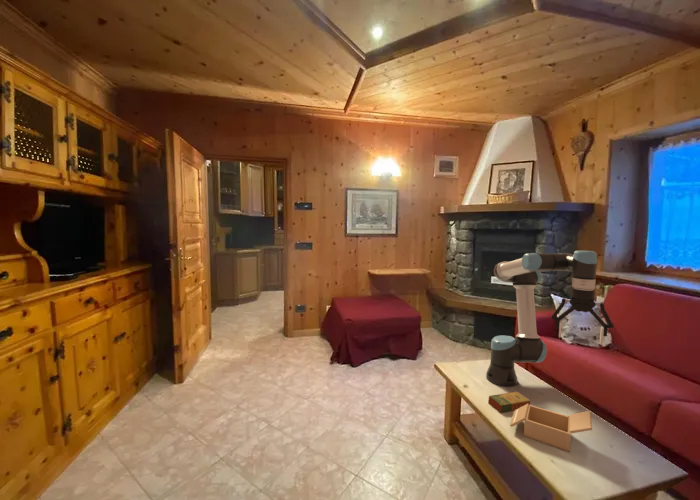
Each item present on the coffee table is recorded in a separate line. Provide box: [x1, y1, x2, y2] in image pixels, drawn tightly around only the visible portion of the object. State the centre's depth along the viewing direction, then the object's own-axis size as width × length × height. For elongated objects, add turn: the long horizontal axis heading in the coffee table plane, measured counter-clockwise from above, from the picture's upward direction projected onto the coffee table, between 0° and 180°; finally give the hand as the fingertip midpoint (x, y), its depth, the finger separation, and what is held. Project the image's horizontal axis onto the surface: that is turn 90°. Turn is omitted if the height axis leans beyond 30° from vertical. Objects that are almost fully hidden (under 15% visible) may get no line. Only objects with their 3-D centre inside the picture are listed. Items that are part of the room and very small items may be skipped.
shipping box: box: [509, 404, 572, 453], centre depth 125 cm, size 13×20×8 cm, turn 55°
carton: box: [488, 391, 531, 414], centre depth 144 cm, size 8×16×4 cm, turn 105°
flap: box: [569, 410, 593, 434], centre depth 117 cm, size 13×1×7 cm
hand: (579, 340), depth 127 cm, fingers open, 13 cm apart
